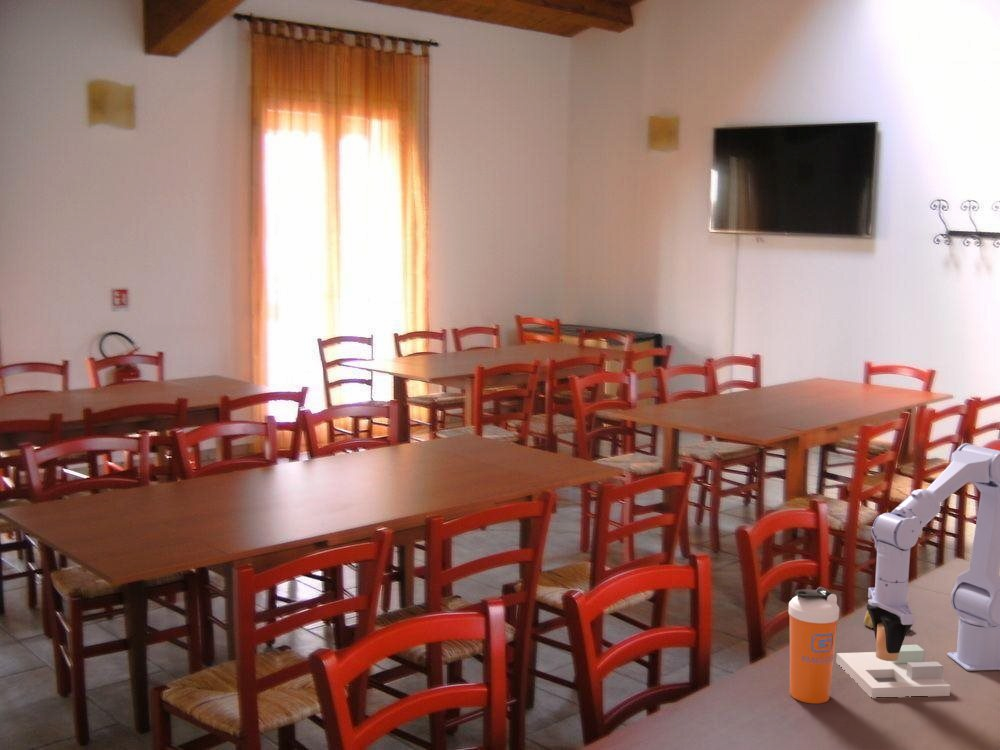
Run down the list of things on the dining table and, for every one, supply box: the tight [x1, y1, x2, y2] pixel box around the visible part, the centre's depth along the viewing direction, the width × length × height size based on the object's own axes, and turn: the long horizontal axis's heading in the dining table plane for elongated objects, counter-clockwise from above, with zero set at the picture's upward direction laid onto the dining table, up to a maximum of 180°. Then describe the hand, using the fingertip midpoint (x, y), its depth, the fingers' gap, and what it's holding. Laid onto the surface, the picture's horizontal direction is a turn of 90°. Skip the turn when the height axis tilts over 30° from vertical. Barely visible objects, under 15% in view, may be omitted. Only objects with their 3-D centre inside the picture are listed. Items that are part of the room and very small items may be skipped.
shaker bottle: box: [787, 586, 840, 705], centre depth 190 cm, size 9×9×20 cm
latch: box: [892, 644, 926, 664], centre depth 202 cm, size 6×3×2 cm, turn 95°
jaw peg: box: [875, 623, 899, 661], centre depth 194 cm, size 4×4×6 cm
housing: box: [835, 651, 951, 699], centre depth 198 cm, size 15×16×4 cm
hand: (887, 647), depth 194 cm, fingers closed on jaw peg, 4 cm apart
